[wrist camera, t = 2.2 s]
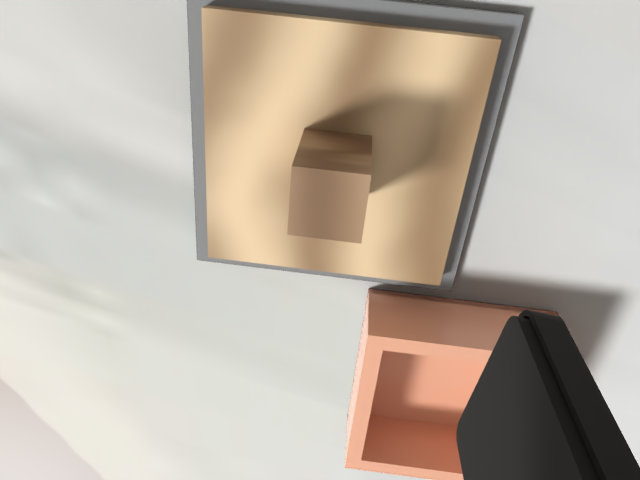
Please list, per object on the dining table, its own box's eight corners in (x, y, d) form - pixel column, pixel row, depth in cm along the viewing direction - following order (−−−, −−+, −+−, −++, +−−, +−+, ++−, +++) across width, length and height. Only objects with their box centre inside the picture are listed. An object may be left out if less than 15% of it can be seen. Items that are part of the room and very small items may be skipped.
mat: (521, 13, 25) (524, 15, 25) (449, 285, 34) (451, 291, 33) (189, -22, 26) (185, -21, 25) (199, 255, 34) (196, 260, 34)
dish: (556, 311, 34) (579, 361, 30) (506, 436, 40) (520, 491, 36) (368, 288, 34) (368, 335, 30) (347, 415, 41) (344, 467, 37)
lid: (497, 35, 25) (528, 65, 20) (438, 276, 33) (449, 342, 28) (207, 4, 26) (165, 25, 21) (212, 248, 33) (182, 308, 28)
